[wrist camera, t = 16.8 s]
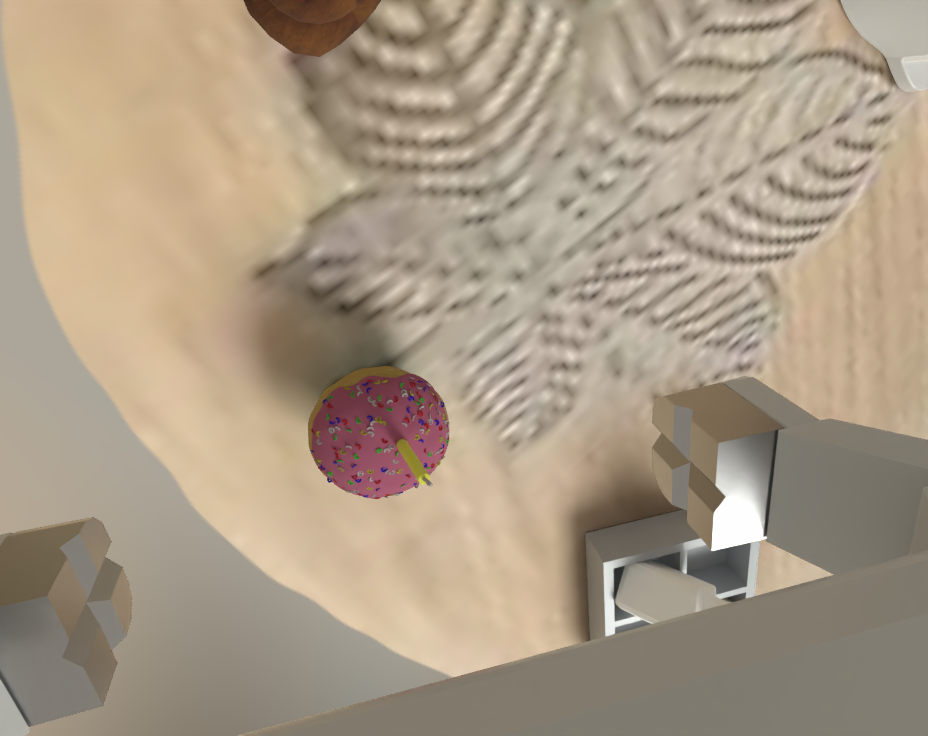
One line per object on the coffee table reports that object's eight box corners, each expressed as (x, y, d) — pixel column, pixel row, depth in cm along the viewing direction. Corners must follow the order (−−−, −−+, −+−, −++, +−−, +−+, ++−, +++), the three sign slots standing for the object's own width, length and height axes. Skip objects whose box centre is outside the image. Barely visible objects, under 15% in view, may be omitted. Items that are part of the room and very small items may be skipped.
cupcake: (393, 317, 41) (423, 399, 31) (459, 413, 45) (507, 516, 34) (281, 389, 42) (272, 496, 31) (356, 478, 45) (371, 600, 35)
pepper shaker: (646, 555, 53) (765, 605, 47) (632, 602, 53) (750, 659, 47) (624, 555, 50) (748, 609, 44) (610, 605, 50) (732, 666, 44)
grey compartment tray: (734, 496, 54) (761, 523, 51) (725, 614, 60) (749, 644, 56) (585, 533, 52) (603, 562, 49) (590, 650, 58) (606, 684, 54)
